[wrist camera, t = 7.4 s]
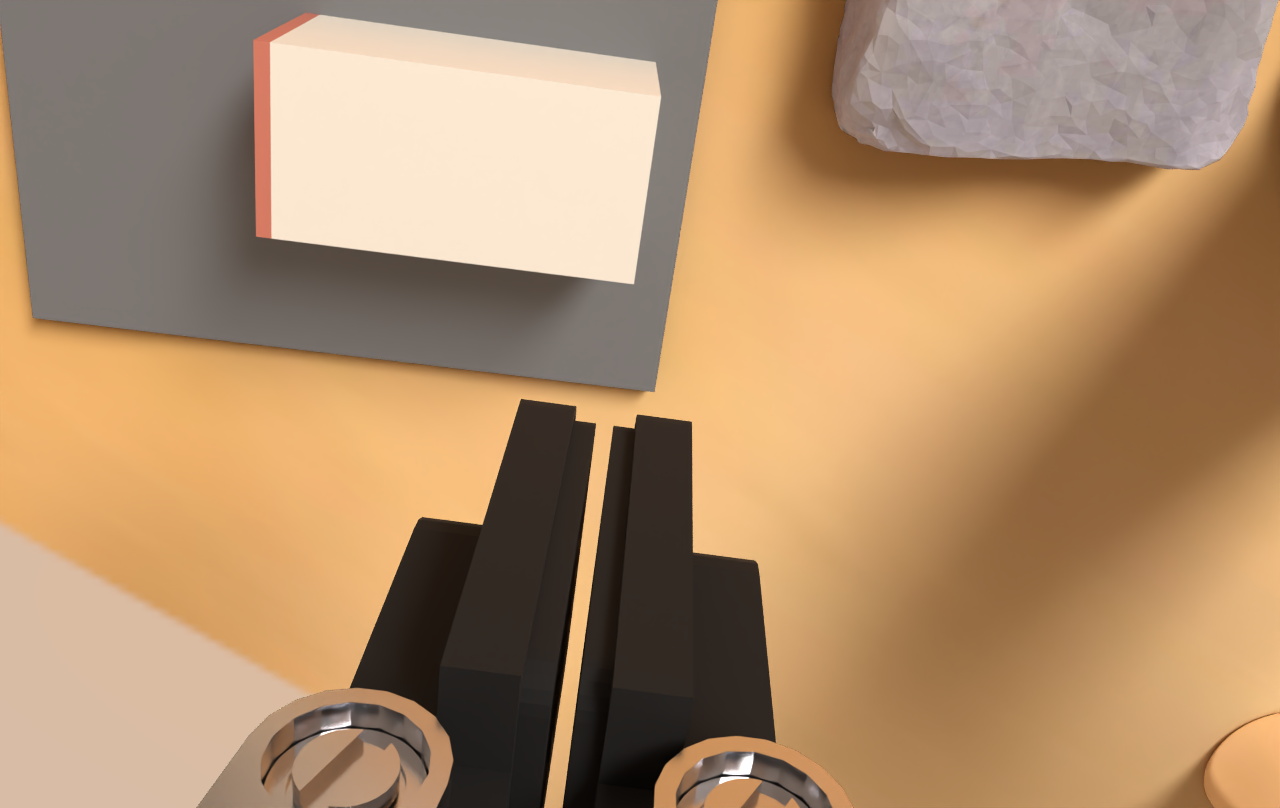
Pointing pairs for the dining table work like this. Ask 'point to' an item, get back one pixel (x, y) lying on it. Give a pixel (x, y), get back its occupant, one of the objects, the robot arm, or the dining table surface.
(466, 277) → the charcoal mat
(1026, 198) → the dining table surface
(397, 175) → the cream block
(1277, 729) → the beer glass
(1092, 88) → the stone block
